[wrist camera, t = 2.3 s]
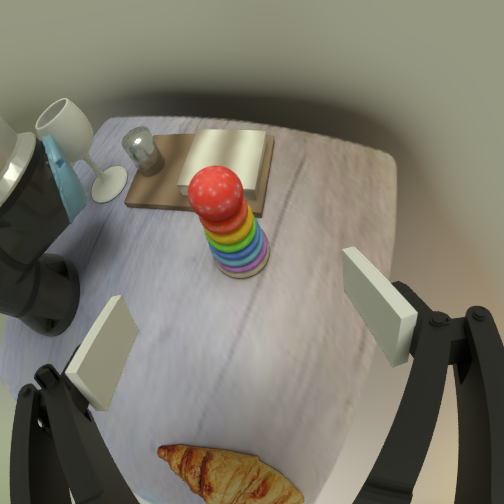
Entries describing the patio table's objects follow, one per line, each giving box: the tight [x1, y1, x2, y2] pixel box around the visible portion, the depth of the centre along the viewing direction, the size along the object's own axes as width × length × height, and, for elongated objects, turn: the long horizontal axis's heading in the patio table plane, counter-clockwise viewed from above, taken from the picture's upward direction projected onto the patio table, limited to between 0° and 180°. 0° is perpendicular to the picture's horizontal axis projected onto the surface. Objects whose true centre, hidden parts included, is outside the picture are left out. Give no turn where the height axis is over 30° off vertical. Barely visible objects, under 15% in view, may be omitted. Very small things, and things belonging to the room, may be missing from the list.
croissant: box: [157, 444, 304, 504], centre depth 25 cm, size 21×10×8 cm, turn 70°
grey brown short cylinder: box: [122, 126, 165, 177], centre depth 42 cm, size 5×5×8 cm
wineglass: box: [36, 98, 127, 203], centre depth 38 cm, size 9×9×21 cm
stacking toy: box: [188, 165, 270, 278], centre depth 31 cm, size 8×8×19 cm
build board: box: [124, 130, 274, 218], centre depth 44 cm, size 24×16×4 cm, turn 81°
